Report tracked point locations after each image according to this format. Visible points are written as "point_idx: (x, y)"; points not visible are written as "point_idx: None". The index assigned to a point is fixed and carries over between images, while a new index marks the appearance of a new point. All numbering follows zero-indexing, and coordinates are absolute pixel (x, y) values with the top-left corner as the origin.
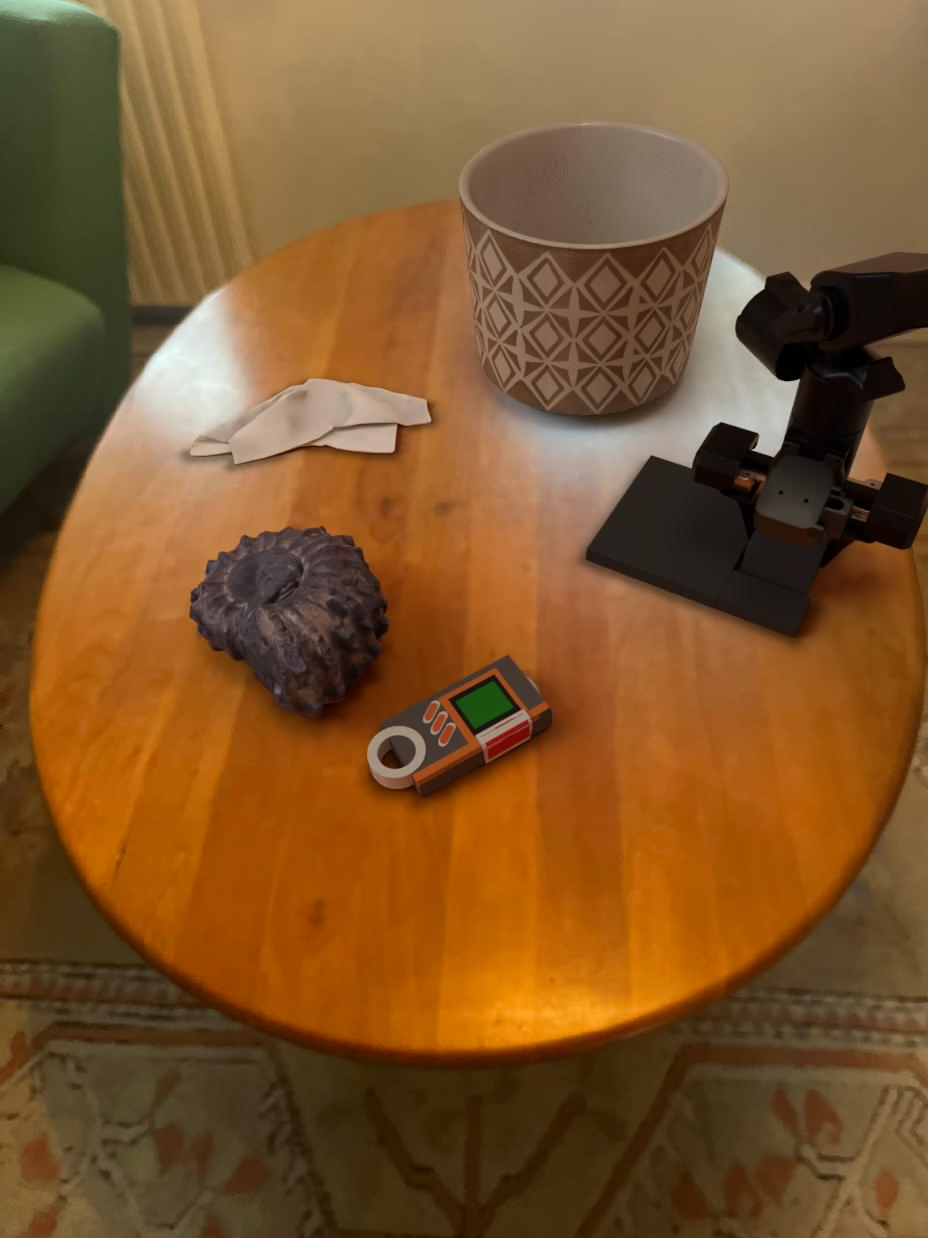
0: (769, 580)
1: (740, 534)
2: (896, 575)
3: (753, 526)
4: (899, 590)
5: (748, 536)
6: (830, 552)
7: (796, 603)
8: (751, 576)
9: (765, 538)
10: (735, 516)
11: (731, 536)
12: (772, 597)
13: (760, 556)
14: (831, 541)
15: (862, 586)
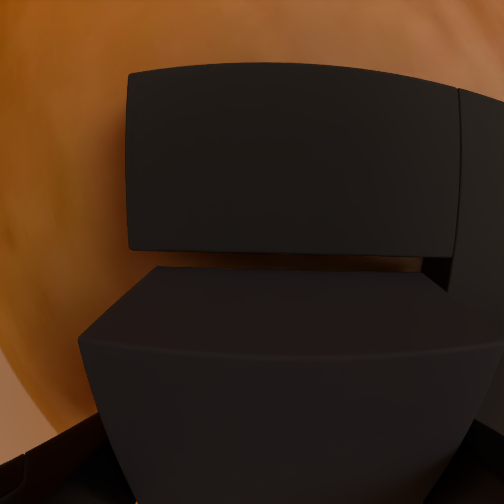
0: (311, 272)
1: None
2: (53, 414)
3: (479, 450)
4: (29, 379)
5: None
6: (74, 448)
7: (165, 188)
8: (385, 253)
9: (418, 430)
10: None
11: None
12: (268, 173)
13: (413, 325)
14: (65, 502)
15: (78, 373)
